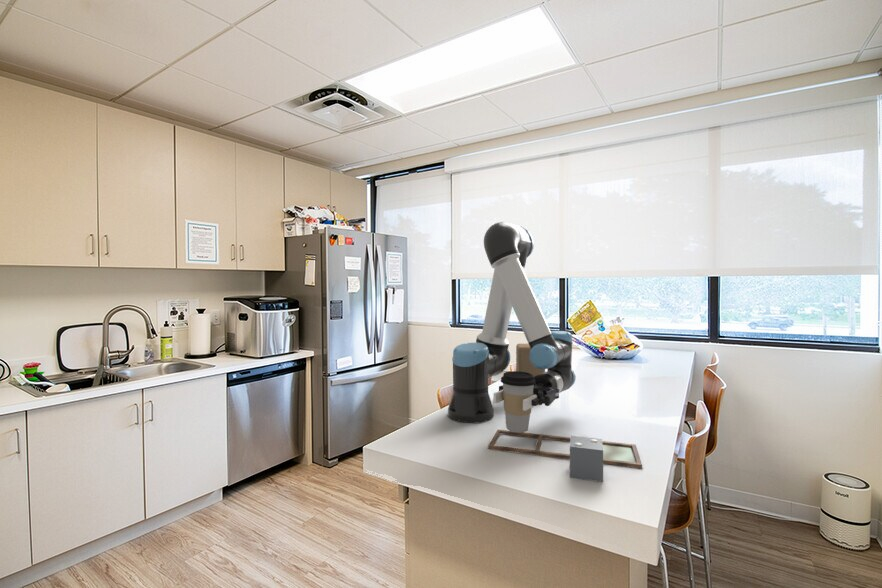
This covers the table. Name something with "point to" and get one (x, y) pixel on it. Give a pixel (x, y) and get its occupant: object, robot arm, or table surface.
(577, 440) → the die
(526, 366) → the wooden block
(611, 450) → the wooden frame
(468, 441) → the table surface
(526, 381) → the coffee cup
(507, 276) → the robot arm
